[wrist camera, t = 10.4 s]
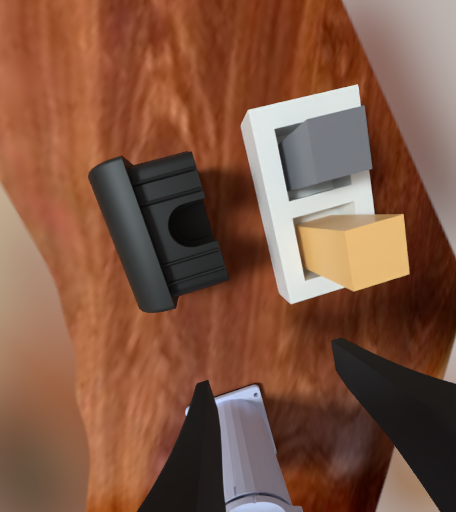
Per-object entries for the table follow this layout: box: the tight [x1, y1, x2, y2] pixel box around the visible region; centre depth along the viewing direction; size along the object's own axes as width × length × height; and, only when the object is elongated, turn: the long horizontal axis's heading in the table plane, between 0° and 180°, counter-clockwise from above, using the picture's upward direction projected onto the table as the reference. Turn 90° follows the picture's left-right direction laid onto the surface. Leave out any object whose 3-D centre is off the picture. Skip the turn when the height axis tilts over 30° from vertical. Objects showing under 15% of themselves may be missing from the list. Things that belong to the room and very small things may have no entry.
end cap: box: [88, 151, 229, 313], centre depth 17 cm, size 10×7×7 cm
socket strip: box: [241, 85, 375, 304], centre depth 19 cm, size 16×9×6 cm, turn 15°
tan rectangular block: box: [294, 214, 409, 291], centre depth 18 cm, size 4×4×8 cm
